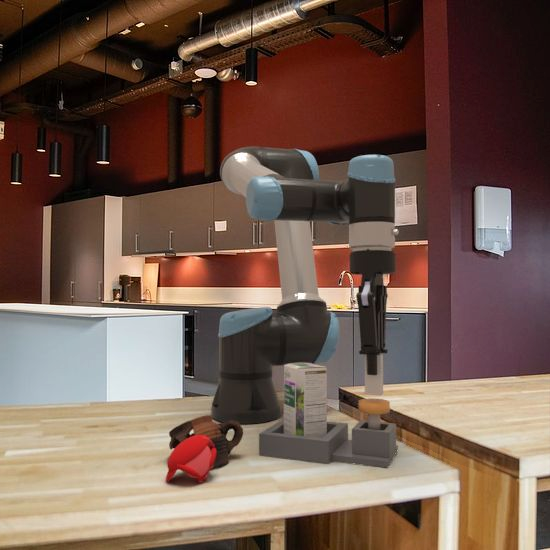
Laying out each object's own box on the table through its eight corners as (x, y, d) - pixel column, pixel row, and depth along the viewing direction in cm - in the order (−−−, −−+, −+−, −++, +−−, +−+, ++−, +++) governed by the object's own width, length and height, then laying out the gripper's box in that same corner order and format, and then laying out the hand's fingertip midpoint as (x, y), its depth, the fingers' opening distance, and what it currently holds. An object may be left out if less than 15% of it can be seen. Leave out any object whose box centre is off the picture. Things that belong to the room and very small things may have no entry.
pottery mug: (184, 480, 78) (165, 427, 81) (178, 488, 86) (161, 439, 89) (257, 448, 82) (237, 399, 85) (245, 459, 90) (227, 414, 93)
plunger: (355, 437, 85) (355, 403, 85) (362, 430, 89) (362, 397, 89) (386, 441, 83) (386, 405, 83) (392, 433, 87) (392, 399, 87)
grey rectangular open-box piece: (259, 455, 87) (258, 424, 87) (285, 436, 98) (285, 409, 98) (386, 471, 79) (385, 437, 79) (399, 448, 90) (398, 419, 90)
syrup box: (282, 447, 92) (281, 363, 92) (311, 442, 94) (310, 361, 95) (298, 456, 87) (298, 367, 87) (328, 451, 89) (328, 365, 90)
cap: (212, 445, 82) (179, 427, 81) (225, 441, 77) (190, 422, 76) (190, 496, 78) (154, 478, 77) (202, 496, 73) (164, 477, 72)
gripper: (387, 246, 79) (389, 403, 79) (401, 252, 91) (403, 388, 91) (339, 248, 82) (341, 400, 82) (359, 253, 94) (360, 386, 94)
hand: (374, 394), depth 86 cm, fingers closed
